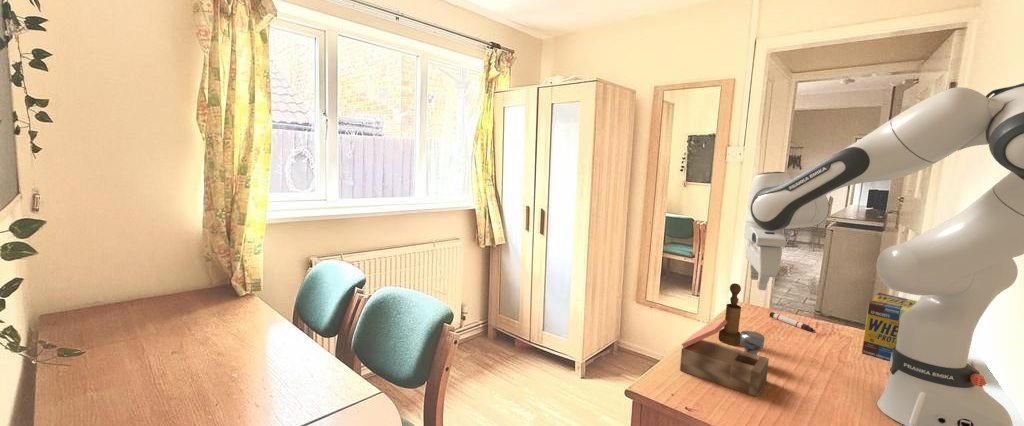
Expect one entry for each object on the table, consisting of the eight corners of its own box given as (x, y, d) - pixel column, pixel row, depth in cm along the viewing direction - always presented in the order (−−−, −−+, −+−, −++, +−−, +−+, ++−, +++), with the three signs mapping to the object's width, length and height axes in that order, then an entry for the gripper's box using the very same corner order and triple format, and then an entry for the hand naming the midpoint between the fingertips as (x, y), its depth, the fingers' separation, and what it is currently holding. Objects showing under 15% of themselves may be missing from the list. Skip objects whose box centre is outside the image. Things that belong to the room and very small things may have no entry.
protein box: (861, 353, 126) (868, 302, 124) (871, 339, 136) (878, 292, 134) (909, 367, 118) (917, 313, 116) (916, 351, 128) (924, 301, 126)
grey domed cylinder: (763, 362, 118) (766, 334, 117) (758, 369, 114) (762, 341, 113) (741, 356, 122) (743, 329, 121) (735, 362, 118) (738, 335, 117)
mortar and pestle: (745, 346, 128) (751, 288, 126) (721, 344, 130) (727, 286, 127) (738, 337, 135) (743, 281, 132) (715, 335, 136) (721, 280, 134)
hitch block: (766, 380, 109) (768, 358, 108) (757, 396, 101) (759, 372, 100) (692, 357, 120) (694, 337, 119) (679, 370, 113) (681, 348, 112)
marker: (768, 317, 154) (769, 312, 153) (772, 317, 154) (773, 311, 154) (812, 334, 140) (813, 328, 139) (816, 333, 140) (817, 327, 140)
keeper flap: (727, 322, 113) (725, 319, 113) (717, 332, 106) (714, 328, 107) (695, 337, 119) (693, 334, 119) (683, 347, 112) (681, 344, 112)
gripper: (743, 225, 124) (737, 272, 126) (758, 239, 105) (752, 294, 107) (767, 227, 122) (762, 275, 124) (788, 242, 103) (781, 297, 105)
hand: (757, 284), depth 115 cm, fingers open, 8 cm apart
